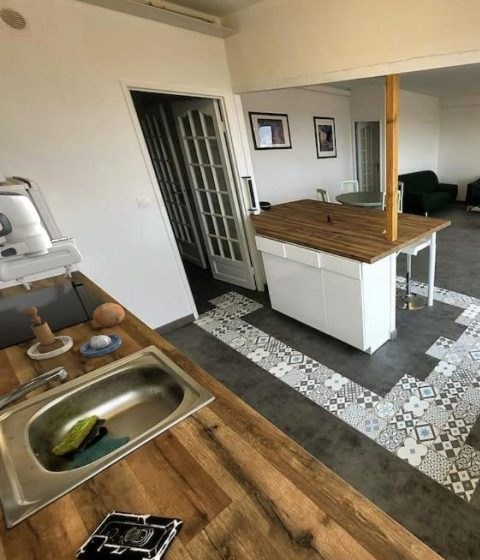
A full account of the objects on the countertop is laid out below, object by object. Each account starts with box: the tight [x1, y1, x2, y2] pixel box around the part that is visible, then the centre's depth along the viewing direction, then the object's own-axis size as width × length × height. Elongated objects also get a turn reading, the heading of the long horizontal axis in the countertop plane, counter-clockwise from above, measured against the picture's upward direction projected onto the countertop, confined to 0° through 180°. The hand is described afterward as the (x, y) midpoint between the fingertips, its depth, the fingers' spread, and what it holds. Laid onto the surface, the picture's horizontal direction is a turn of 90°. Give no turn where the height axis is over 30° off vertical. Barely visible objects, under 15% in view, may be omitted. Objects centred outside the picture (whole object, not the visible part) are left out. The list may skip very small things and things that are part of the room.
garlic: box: [90, 334, 111, 349], centre depth 116 cm, size 6×5×5 cm
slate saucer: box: [79, 333, 123, 359], centre depth 117 cm, size 12×12×2 cm
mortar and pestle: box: [23, 306, 64, 354], centre depth 112 cm, size 7×6×18 cm
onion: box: [92, 302, 125, 328], centre depth 129 cm, size 10×10×10 cm
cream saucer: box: [26, 335, 74, 361], centre depth 115 cm, size 12×12×2 cm
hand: (50, 283), depth 103 cm, fingers open, 8 cm apart
